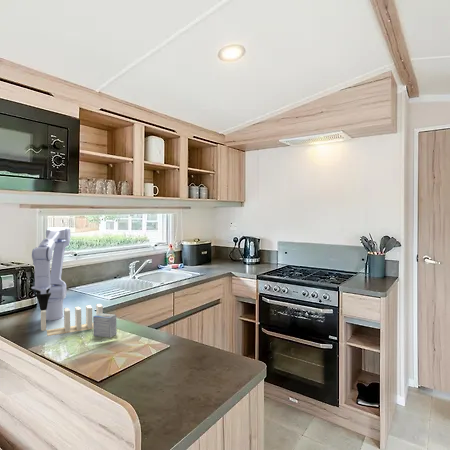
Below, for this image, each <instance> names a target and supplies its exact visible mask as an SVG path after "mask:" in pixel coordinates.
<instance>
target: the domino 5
mask: <svg viewBox="0 0 450 450" xmlns="http://www.w3.org/2000/svg"><path fill="white" fill-rule="evenodd" d="M95 307H96V309H95V310H96V312H95V313H96V314H95V315H97V314H100V313H102V314H104V306H103V304H102V303H97V304H96V306H95Z"/></svg>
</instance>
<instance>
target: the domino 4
mask: <svg viewBox="0 0 450 450" xmlns="http://www.w3.org/2000/svg"><path fill="white" fill-rule="evenodd" d="M92 323H93V307H92V305H91V304H88V305H85V324H86V326H87V327H88V328H92Z"/></svg>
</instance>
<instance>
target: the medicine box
mask: <svg viewBox="0 0 450 450" xmlns="http://www.w3.org/2000/svg"><path fill="white" fill-rule="evenodd" d="M92 323H93V336H94V337H101V338H103V337H104V338H112V337H114V336H115V335H117V333H118V332H117V330H118V329H117V327H118V326H117V314H112V313H111V314H110V313H103V314H102V313H100V314H97V315H96V314H95V315H92Z"/></svg>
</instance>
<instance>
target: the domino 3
mask: <svg viewBox="0 0 450 450" xmlns="http://www.w3.org/2000/svg"><path fill="white" fill-rule="evenodd" d="M74 313H75V314H74V316H75V317H74V318H75V321H74V323H75V325H74V326H75V327H76V329H77V330H81V329H82V326H81V325H82V308H81V307H80V306H75V307H74Z"/></svg>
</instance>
